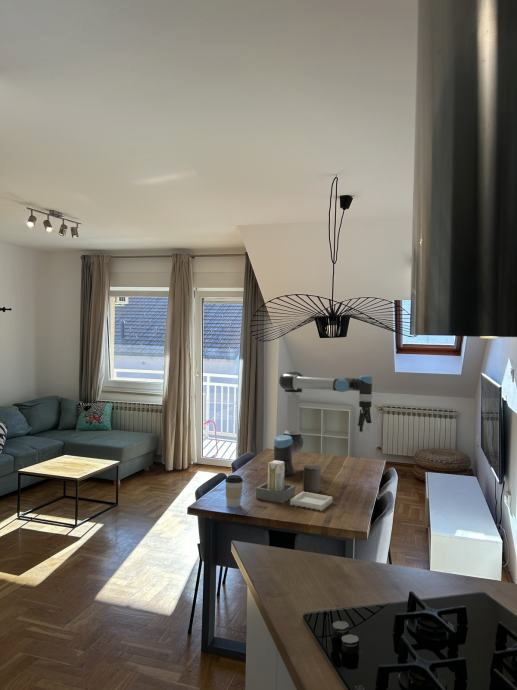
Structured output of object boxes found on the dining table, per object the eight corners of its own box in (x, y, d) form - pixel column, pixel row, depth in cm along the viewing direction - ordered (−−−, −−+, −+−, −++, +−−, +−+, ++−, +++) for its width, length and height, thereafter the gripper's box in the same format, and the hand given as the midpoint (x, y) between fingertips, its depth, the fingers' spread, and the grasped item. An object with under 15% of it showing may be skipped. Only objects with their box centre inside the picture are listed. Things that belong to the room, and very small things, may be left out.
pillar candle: (300, 491, 276) (301, 465, 276) (305, 486, 285) (306, 461, 285) (317, 494, 272) (318, 467, 272) (321, 489, 282) (322, 463, 281)
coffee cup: (225, 502, 254) (226, 473, 254) (242, 502, 254) (243, 473, 254) (223, 507, 245) (224, 478, 245) (241, 508, 245) (242, 478, 245)
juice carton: (285, 496, 267) (286, 461, 267) (277, 500, 260) (278, 464, 259) (273, 493, 271) (274, 459, 271) (265, 497, 263) (266, 462, 263)
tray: (290, 505, 252) (290, 499, 252) (302, 496, 266) (302, 491, 266) (321, 511, 244) (321, 505, 244) (332, 502, 258) (332, 496, 258)
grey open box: (255, 497, 262) (256, 487, 262) (268, 490, 276) (269, 481, 276) (282, 503, 255) (283, 492, 255) (294, 495, 268) (294, 485, 268)
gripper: (365, 403, 289) (364, 439, 289) (376, 399, 311) (375, 432, 311) (353, 402, 293) (352, 437, 293) (365, 398, 315) (364, 431, 315)
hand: (364, 435), depth 302 cm, fingers open, 13 cm apart
